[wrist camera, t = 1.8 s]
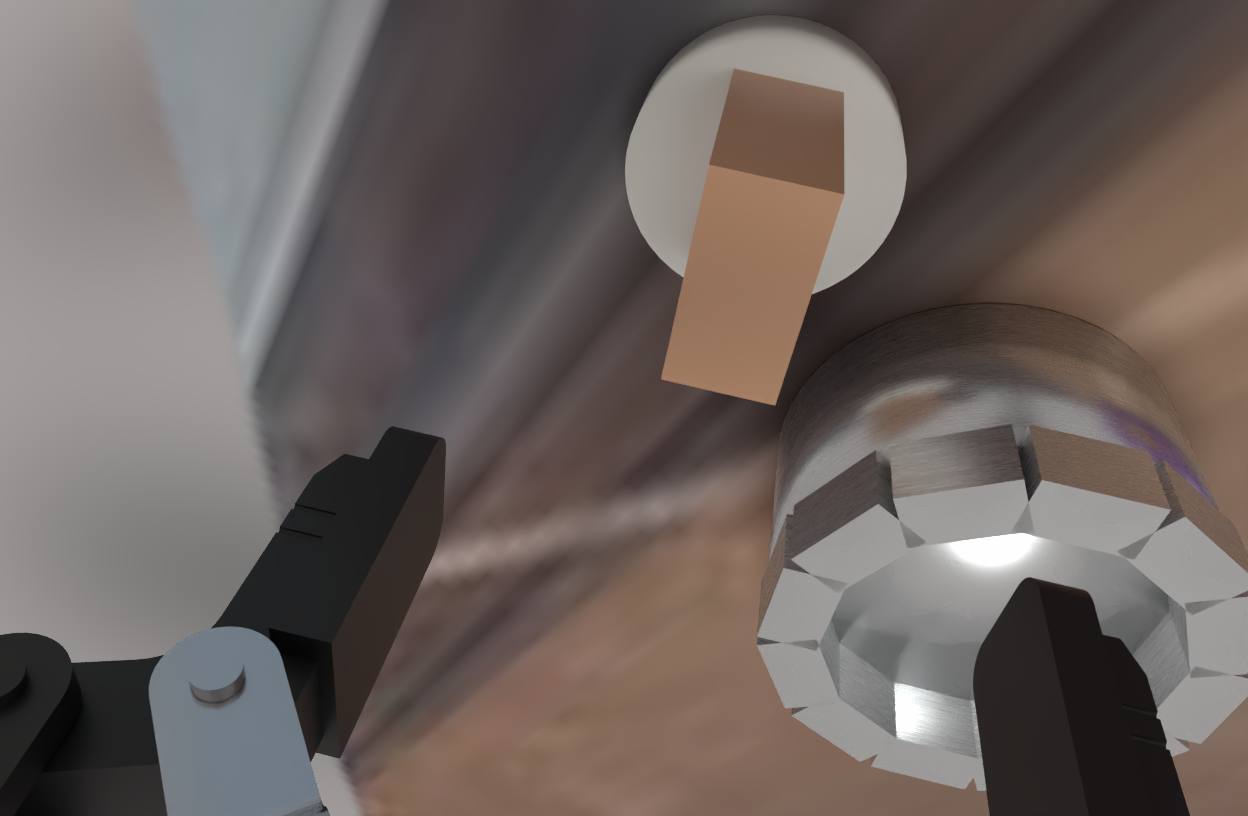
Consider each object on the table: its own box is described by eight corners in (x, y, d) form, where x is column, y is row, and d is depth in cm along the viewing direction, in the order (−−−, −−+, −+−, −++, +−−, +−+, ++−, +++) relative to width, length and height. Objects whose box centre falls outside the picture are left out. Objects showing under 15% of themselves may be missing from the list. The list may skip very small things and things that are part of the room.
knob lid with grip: (662, -13, 21) (603, 95, 16) (943, 47, 21) (976, 177, 16) (620, 236, 25) (562, 387, 20) (855, 289, 25) (859, 456, 20)
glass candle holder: (837, 262, 25) (836, 432, 19) (1262, 357, 24) (1383, 558, 19) (741, 545, 32) (720, 729, 26) (1070, 624, 31) (1118, 827, 26)
